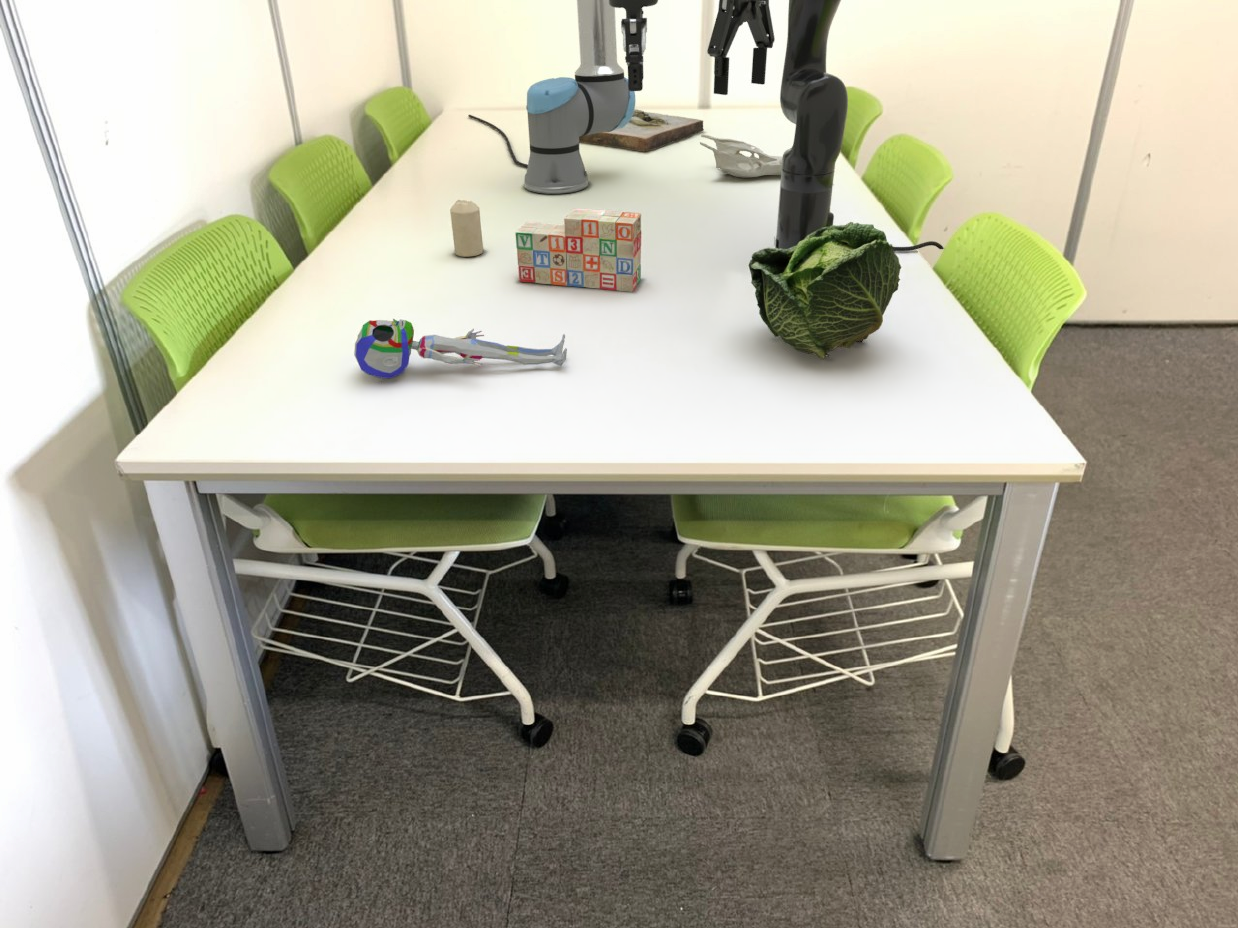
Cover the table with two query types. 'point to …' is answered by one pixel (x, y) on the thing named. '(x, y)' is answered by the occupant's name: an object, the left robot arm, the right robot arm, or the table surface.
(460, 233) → the candle
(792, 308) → the vegetable
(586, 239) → the stack of blocks
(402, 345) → the toy
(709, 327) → the table surface
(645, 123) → the plaque
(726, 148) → the anatomical model
